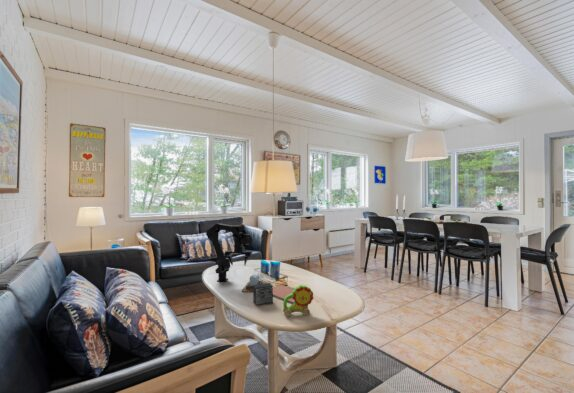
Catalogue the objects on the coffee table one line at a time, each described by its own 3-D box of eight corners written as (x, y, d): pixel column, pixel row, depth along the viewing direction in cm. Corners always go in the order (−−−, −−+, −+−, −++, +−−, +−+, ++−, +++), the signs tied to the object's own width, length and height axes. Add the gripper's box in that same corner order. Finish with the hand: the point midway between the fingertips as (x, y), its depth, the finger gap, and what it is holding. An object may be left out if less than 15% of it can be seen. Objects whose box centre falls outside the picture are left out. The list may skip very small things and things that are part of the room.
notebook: (312, 297, 178) (312, 294, 178) (293, 305, 166) (293, 301, 166) (282, 287, 198) (282, 284, 198) (263, 293, 186) (263, 290, 186)
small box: (270, 299, 174) (270, 282, 174) (273, 303, 168) (273, 285, 168) (253, 301, 171) (252, 284, 170) (255, 306, 165) (255, 287, 164)
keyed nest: (248, 283, 205) (248, 278, 205) (266, 283, 204) (266, 279, 204) (241, 292, 187) (241, 287, 187) (261, 292, 186) (261, 288, 186)
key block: (249, 288, 191) (249, 277, 191) (252, 283, 200) (252, 273, 200) (256, 288, 191) (256, 278, 191) (259, 284, 200) (259, 274, 199)
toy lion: (284, 317, 149) (284, 288, 149) (282, 313, 155) (282, 285, 154) (314, 315, 152) (314, 286, 151) (311, 311, 157) (311, 283, 157)
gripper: (254, 241, 210) (254, 262, 211) (229, 241, 212) (229, 262, 213) (250, 244, 199) (250, 266, 199) (224, 243, 201) (224, 266, 202)
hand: (238, 265), depth 204 cm, fingers open, 9 cm apart
